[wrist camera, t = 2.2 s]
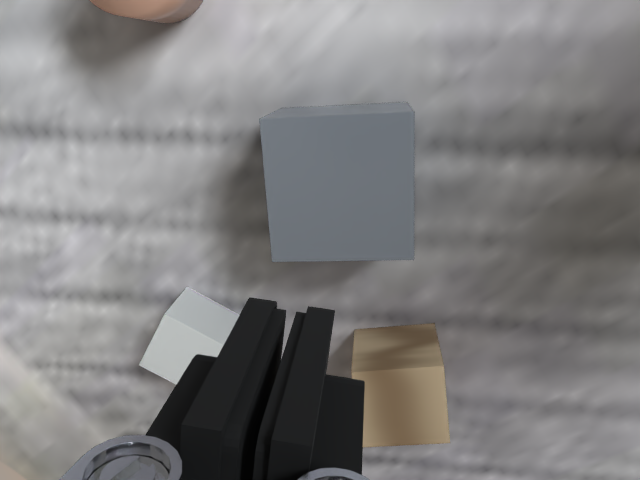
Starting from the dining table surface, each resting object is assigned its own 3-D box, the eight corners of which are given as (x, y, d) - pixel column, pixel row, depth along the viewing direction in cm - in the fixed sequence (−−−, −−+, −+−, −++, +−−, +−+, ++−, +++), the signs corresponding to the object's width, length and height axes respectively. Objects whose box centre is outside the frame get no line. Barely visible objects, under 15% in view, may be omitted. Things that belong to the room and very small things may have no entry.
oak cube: (434, 322, 33) (443, 365, 28) (440, 391, 35) (450, 443, 30) (354, 328, 34) (351, 372, 29) (363, 395, 35) (361, 447, 31)
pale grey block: (269, 329, 35) (257, 362, 31) (243, 374, 36) (227, 411, 32) (187, 285, 34) (164, 313, 30) (164, 332, 36) (138, 365, 32)
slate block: (407, 101, 29) (414, 111, 24) (407, 223, 31) (414, 259, 26) (281, 107, 30) (259, 119, 24) (290, 226, 32) (272, 262, 27)
